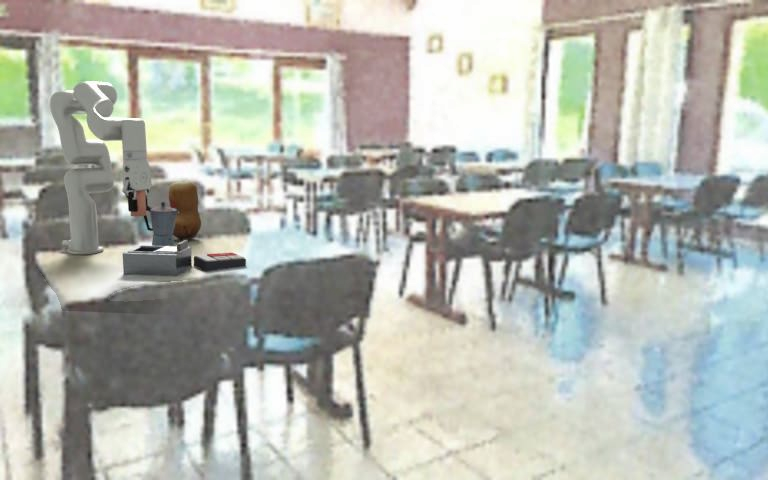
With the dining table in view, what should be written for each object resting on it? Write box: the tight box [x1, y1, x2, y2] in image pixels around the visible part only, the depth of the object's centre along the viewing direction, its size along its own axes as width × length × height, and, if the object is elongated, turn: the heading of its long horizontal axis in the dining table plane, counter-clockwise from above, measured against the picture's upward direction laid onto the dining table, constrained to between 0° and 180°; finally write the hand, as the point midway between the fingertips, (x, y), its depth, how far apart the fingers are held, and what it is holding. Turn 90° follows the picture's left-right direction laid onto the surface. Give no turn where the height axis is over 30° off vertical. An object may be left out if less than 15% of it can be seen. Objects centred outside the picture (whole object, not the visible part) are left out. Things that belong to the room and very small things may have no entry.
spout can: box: [130, 189, 147, 217], centre depth 226 cm, size 5×6×10 cm
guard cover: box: [156, 240, 190, 253], centre depth 226 cm, size 8×8×3 cm
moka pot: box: [143, 201, 179, 246], centre depth 252 cm, size 10×15×20 cm, turn 78°
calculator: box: [193, 252, 247, 272], centre depth 237 cm, size 11×4×15 cm
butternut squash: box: [168, 179, 202, 241], centre depth 281 cm, size 14×13×25 cm
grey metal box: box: [122, 244, 193, 277], centre depth 228 cm, size 18×14×7 cm
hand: (138, 209), depth 227 cm, fingers closed on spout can, 5 cm apart
